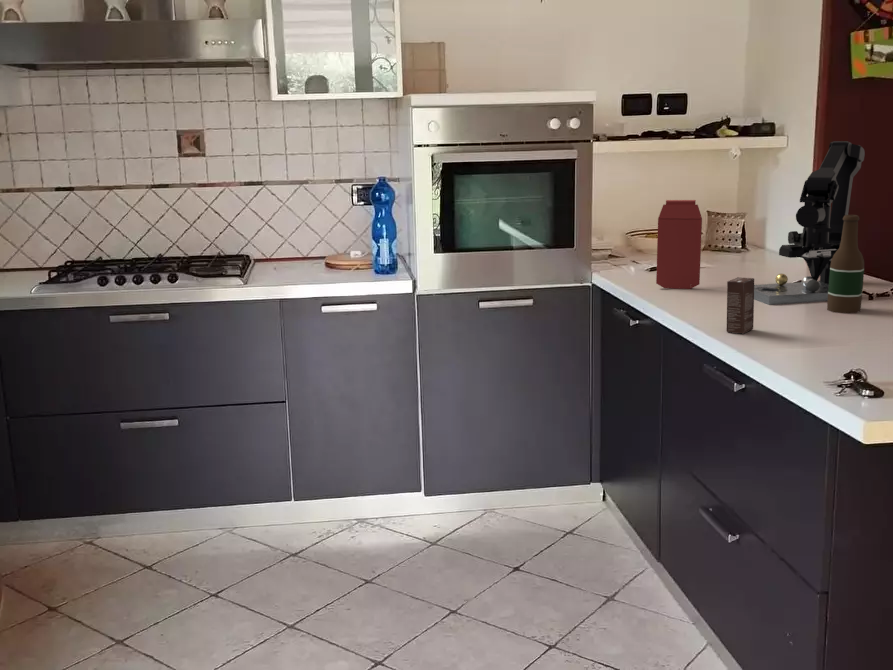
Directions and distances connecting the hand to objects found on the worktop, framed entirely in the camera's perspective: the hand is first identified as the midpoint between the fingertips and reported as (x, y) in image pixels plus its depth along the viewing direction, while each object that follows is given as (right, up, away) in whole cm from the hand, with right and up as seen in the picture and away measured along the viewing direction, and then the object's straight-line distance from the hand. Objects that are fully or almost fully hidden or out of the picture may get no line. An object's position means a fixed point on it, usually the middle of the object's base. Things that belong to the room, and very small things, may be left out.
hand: (814, 281), depth 244 cm
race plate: (-5, -4, 0) cm, 7 cm away
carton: (-32, -1, +20) cm, 37 cm away
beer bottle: (0, -9, -19) cm, 21 cm away
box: (-32, -14, -36) cm, 50 cm away
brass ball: (-7, +1, +5) cm, 9 cm away
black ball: (-3, -1, -6) cm, 6 cm away
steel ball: (-2, 0, 0) cm, 2 cm away
